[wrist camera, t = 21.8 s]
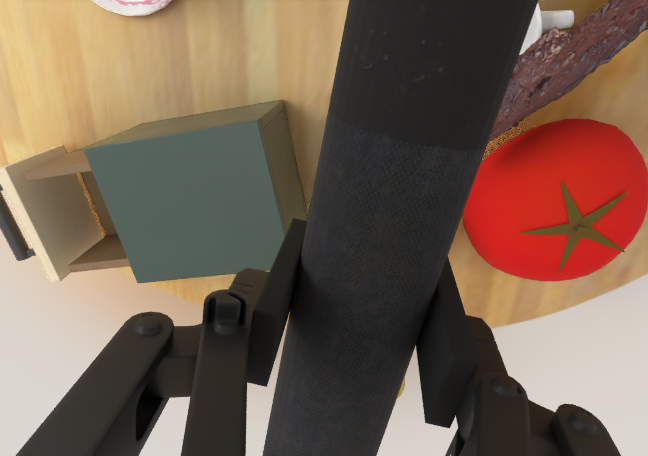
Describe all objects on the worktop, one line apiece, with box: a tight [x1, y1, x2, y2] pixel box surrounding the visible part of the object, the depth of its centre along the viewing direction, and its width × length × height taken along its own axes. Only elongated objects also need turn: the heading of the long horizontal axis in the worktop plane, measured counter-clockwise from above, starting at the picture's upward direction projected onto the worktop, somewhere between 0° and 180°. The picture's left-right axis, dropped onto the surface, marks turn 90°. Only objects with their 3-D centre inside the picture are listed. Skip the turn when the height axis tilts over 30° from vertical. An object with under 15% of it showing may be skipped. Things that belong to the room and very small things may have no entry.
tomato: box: [462, 119, 648, 281], centre depth 36 cm, size 14×13×10 cm
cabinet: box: [83, 100, 308, 283], centre depth 40 cm, size 15×13×10 cm
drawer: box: [0, 145, 130, 282], centre depth 42 cm, size 18×11×8 cm, turn 100°
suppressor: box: [263, 0, 538, 456], centre depth 17 cm, size 27×5×5 cm, turn 169°
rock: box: [488, 0, 648, 142], centre depth 30 cm, size 21×4×10 cm
